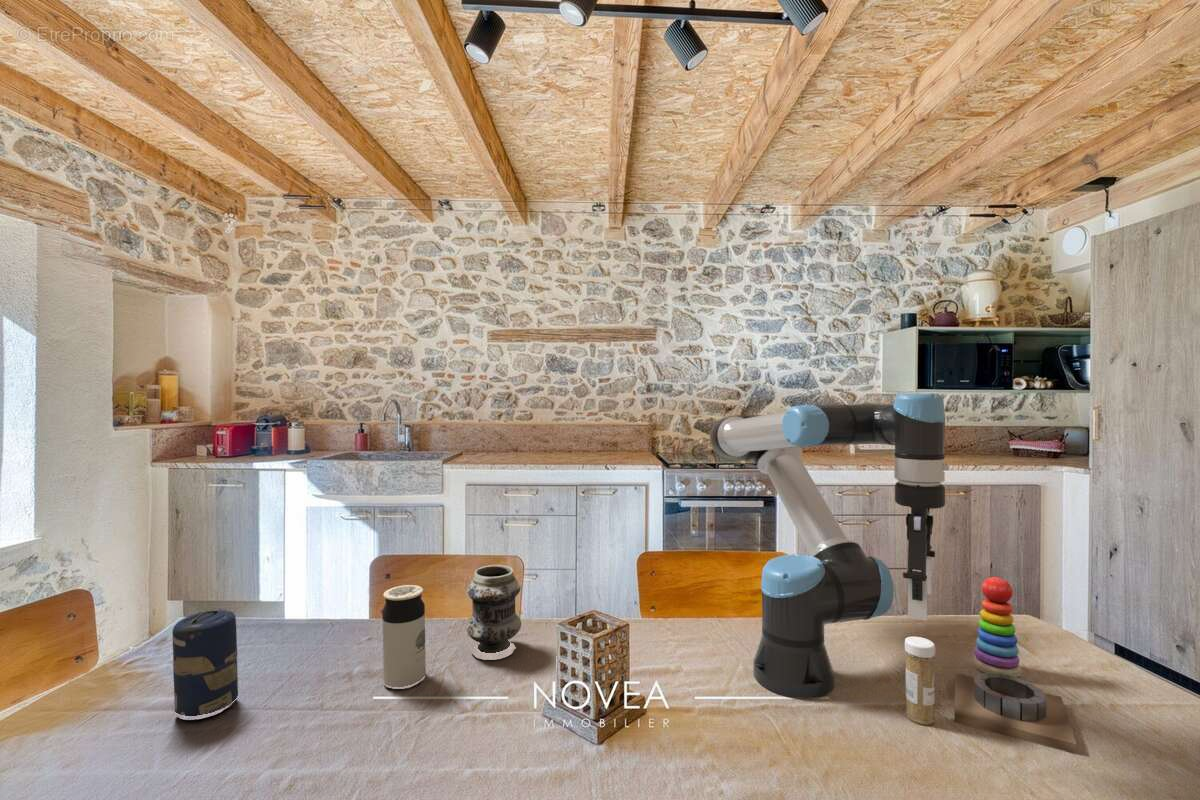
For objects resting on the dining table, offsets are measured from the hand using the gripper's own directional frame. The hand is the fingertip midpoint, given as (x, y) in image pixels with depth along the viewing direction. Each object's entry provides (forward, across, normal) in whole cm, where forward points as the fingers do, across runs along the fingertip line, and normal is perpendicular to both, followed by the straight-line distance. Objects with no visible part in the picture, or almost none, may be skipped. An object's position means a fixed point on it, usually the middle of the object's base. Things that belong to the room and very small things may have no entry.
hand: (920, 605), depth 95 cm
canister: (+20, -66, +109) cm, 129 cm away
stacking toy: (+20, +27, -12) cm, 36 cm away
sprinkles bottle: (+20, 0, 0) cm, 20 cm away
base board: (+20, +10, -13) cm, 26 cm away
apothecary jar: (+20, -21, +81) cm, 86 cm away
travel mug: (+20, -40, +87) cm, 98 cm away
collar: (+18, +10, -13) cm, 25 cm away
